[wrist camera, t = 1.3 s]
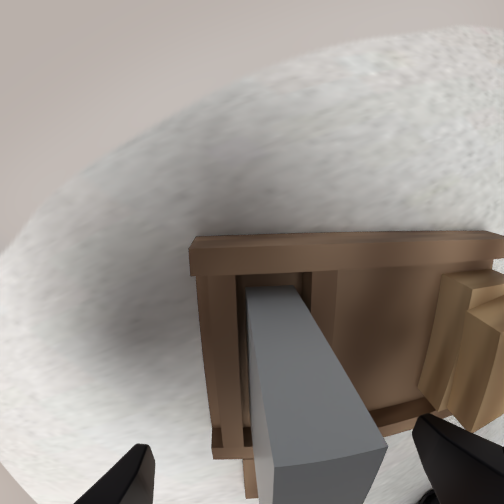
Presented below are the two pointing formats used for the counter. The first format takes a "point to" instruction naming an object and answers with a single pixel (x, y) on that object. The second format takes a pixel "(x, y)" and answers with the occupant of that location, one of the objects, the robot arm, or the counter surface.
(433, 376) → the offcut
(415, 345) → the rack
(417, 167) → the counter surface
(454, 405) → the offcut
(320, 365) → the gray rectangular block
